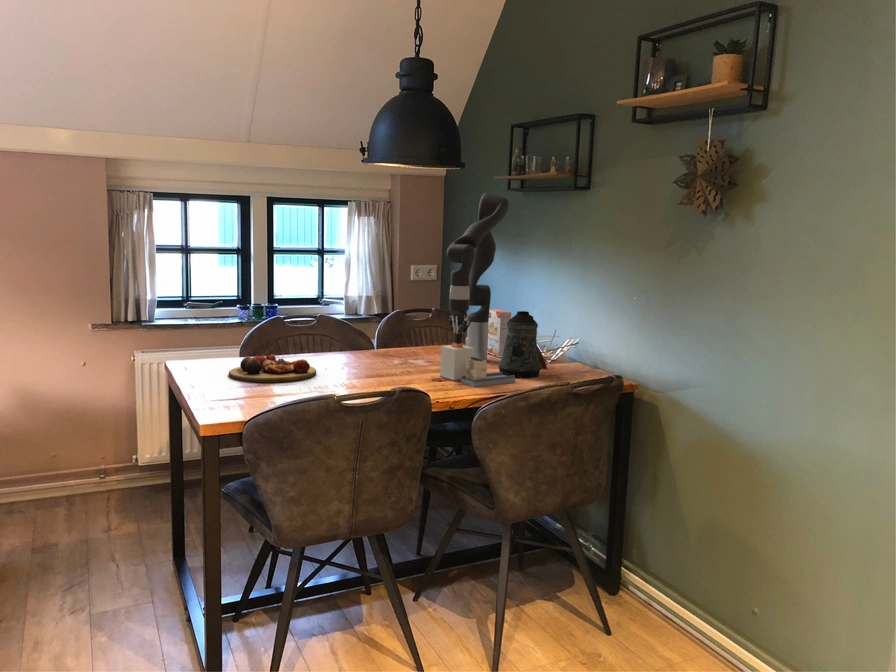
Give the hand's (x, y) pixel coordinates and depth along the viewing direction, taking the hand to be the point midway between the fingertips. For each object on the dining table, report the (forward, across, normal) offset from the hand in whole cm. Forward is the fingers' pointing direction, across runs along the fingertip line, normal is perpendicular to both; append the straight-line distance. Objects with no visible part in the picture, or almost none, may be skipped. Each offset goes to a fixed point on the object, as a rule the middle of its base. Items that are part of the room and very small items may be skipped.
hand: (457, 343), depth 266 cm
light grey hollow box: (+14, 0, 0) cm, 14 cm away
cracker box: (+14, +35, -48) cm, 61 cm away
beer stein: (+14, -4, -28) cm, 31 cm away
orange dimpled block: (+9, 0, 0) cm, 9 cm away
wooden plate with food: (+14, +37, +59) cm, 71 cm away
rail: (+14, -12, -6) cm, 19 cm away
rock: (+14, +5, -44) cm, 46 cm away
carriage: (+12, -12, 0) cm, 17 cm away
